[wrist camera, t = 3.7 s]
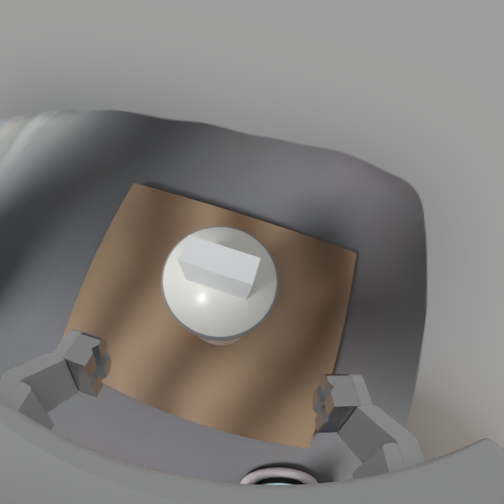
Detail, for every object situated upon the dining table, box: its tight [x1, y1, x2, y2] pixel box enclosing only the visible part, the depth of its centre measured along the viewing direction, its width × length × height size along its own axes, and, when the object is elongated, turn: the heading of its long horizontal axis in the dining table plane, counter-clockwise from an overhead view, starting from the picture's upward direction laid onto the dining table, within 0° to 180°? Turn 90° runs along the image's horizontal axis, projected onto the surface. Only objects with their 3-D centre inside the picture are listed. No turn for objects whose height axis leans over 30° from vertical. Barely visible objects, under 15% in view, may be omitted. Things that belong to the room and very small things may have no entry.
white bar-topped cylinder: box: [161, 226, 279, 346], centre depth 14 cm, size 5×5×11 cm
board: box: [62, 183, 357, 448], centre depth 19 cm, size 20×16×1 cm
